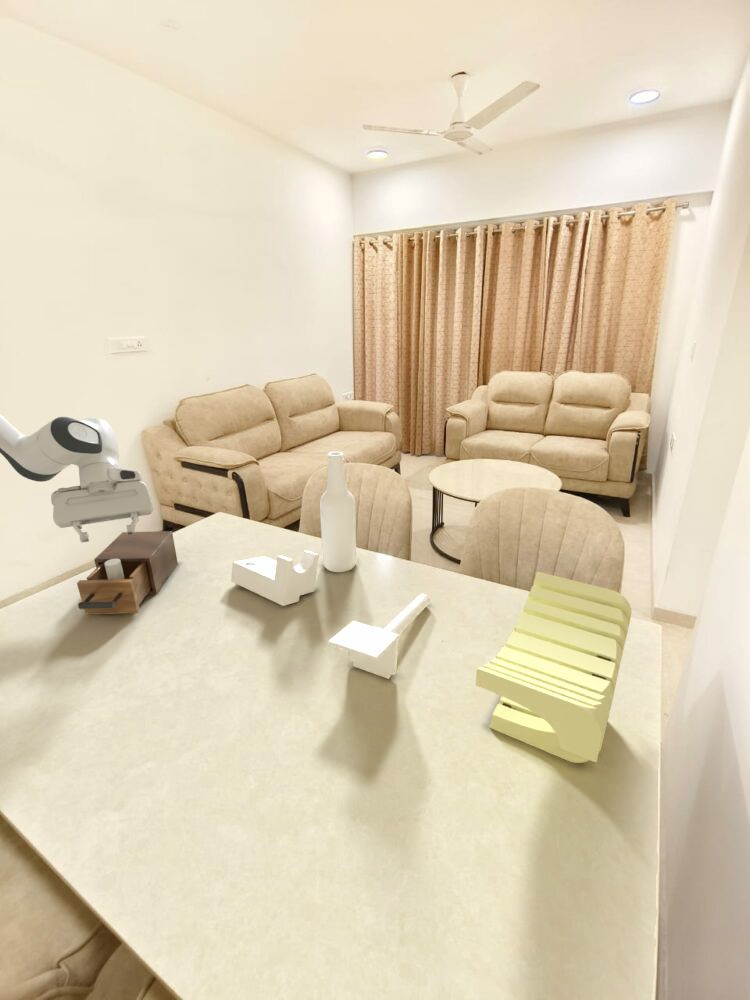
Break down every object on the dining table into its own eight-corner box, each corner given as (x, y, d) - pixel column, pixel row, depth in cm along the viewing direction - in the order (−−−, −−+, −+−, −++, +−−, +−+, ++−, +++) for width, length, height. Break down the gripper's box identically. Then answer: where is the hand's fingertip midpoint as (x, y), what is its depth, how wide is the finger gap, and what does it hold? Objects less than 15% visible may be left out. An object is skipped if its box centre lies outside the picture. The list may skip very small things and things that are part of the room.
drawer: (127, 626, 105) (120, 594, 102) (72, 627, 104) (63, 595, 102) (160, 580, 122) (155, 552, 119) (113, 582, 121) (107, 553, 119)
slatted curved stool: (584, 821, 65) (606, 715, 59) (469, 766, 73) (476, 668, 66) (617, 681, 89) (635, 595, 82) (527, 652, 97) (537, 571, 90)
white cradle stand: (313, 596, 118) (318, 554, 117) (283, 605, 110) (288, 560, 109) (262, 574, 128) (266, 535, 127) (231, 581, 120) (235, 539, 119)
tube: (109, 601, 112) (100, 565, 108) (116, 593, 115) (108, 558, 111) (124, 601, 112) (116, 565, 108) (131, 592, 115) (123, 558, 111)
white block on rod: (328, 640, 85) (406, 576, 113) (327, 685, 87) (404, 611, 115) (376, 657, 81) (445, 586, 108) (374, 703, 83) (442, 622, 111)
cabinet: (156, 594, 118) (149, 558, 114) (102, 595, 118) (94, 559, 114) (178, 564, 131) (172, 531, 128) (129, 565, 131) (122, 532, 128)
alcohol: (351, 574, 125) (347, 459, 114) (318, 571, 127) (311, 457, 116) (360, 558, 133) (358, 449, 122) (329, 555, 135) (323, 447, 124)
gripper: (46, 483, 110) (50, 541, 105) (147, 470, 118) (155, 524, 113) (54, 495, 116) (58, 551, 111) (149, 483, 123) (157, 534, 119)
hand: (108, 537), depth 112 cm, fingers open, 8 cm apart
